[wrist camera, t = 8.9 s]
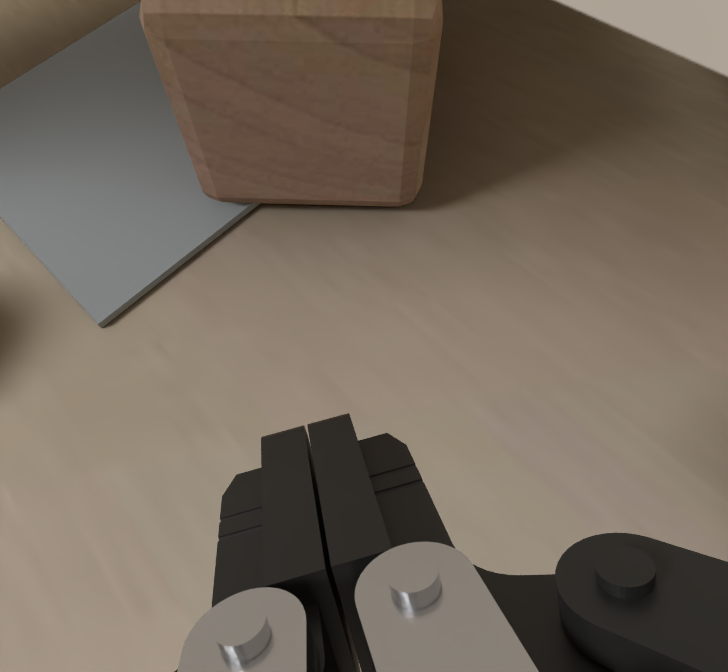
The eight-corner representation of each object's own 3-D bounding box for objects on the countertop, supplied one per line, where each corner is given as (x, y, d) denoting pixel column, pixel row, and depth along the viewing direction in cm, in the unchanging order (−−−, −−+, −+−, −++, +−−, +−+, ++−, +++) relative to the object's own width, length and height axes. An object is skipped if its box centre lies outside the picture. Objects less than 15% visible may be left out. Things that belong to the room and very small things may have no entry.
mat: (-70, 140, 31) (-75, 134, 31) (180, -16, 35) (178, -23, 35) (101, 328, 26) (97, 324, 26) (364, 121, 31) (364, 115, 30)
